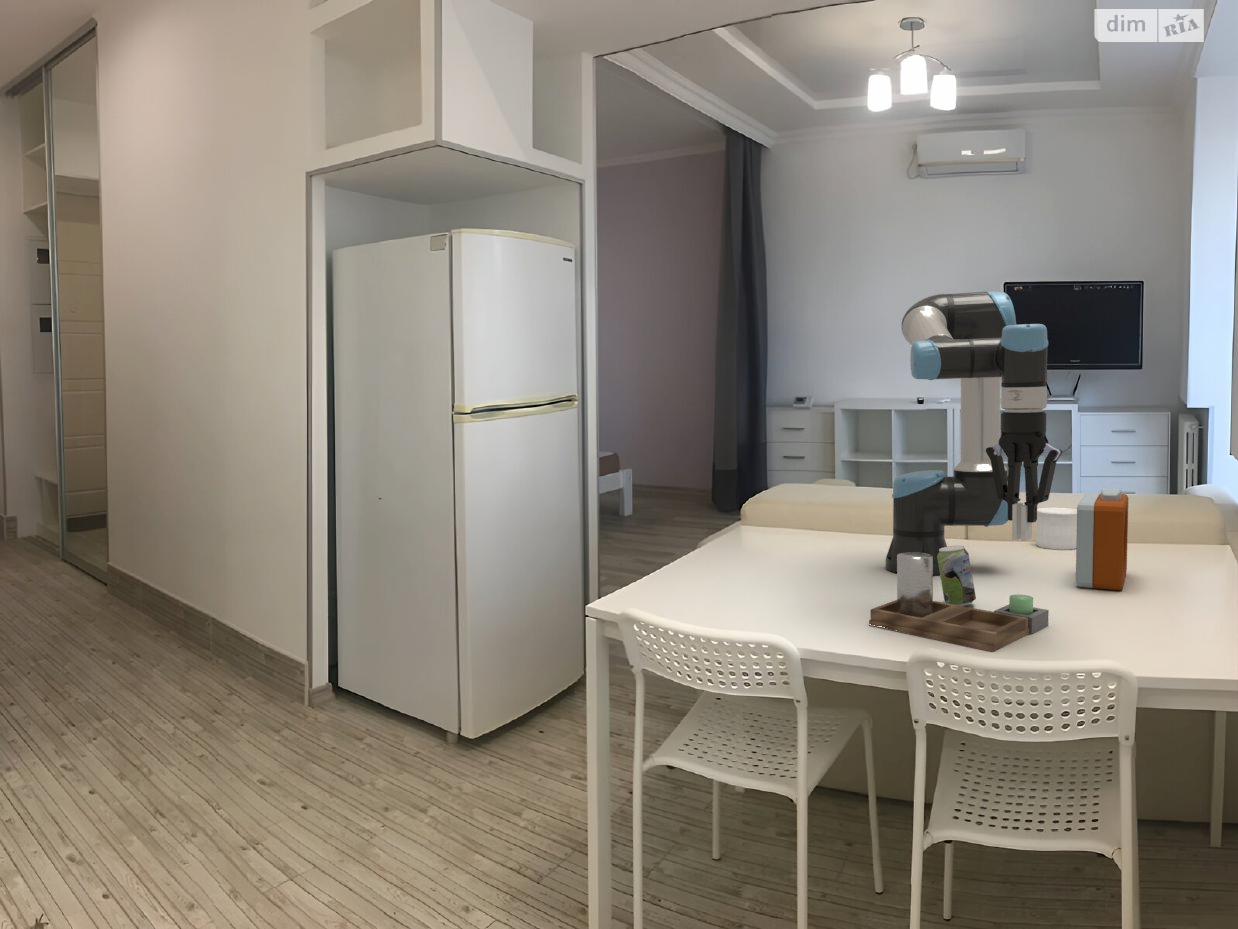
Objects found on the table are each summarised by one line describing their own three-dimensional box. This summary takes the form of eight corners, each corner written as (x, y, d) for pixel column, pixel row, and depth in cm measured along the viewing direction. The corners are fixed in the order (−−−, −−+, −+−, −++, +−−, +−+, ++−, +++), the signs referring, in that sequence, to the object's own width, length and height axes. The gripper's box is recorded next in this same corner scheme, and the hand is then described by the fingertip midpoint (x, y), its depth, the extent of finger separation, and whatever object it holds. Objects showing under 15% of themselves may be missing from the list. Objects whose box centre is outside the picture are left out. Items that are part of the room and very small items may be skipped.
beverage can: (978, 609, 178) (978, 549, 177) (939, 608, 180) (939, 549, 178) (972, 601, 184) (972, 543, 183) (935, 600, 186) (935, 543, 184)
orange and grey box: (1122, 592, 187) (1124, 495, 184) (1075, 588, 191) (1076, 493, 189) (1126, 574, 202) (1128, 483, 200) (1083, 570, 207) (1084, 482, 205)
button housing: (993, 626, 166) (993, 611, 166) (1010, 618, 171) (1010, 603, 170) (1031, 634, 161) (1032, 617, 160) (1048, 625, 165) (1048, 609, 165)
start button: (1005, 621, 166) (1005, 597, 165) (1015, 616, 168) (1015, 593, 168) (1027, 625, 163) (1027, 601, 162) (1036, 620, 165) (1036, 596, 165)
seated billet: (890, 618, 170) (890, 556, 169) (908, 611, 175) (908, 550, 173) (921, 624, 166) (921, 560, 164) (939, 617, 170) (939, 555, 169)
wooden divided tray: (869, 625, 170) (869, 610, 169) (908, 610, 179) (908, 595, 179) (992, 651, 152) (993, 634, 152) (1029, 633, 161) (1029, 617, 161)
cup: (1085, 549, 229) (1086, 512, 228) (1046, 551, 229) (1046, 513, 228) (1067, 542, 238) (1068, 506, 237) (1029, 543, 238) (1030, 507, 237)
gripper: (976, 411, 164) (975, 537, 167) (1054, 412, 154) (1052, 547, 156) (995, 409, 169) (994, 531, 172) (1072, 409, 159) (1070, 540, 161)
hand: (1021, 538), depth 164 cm, fingers closed
